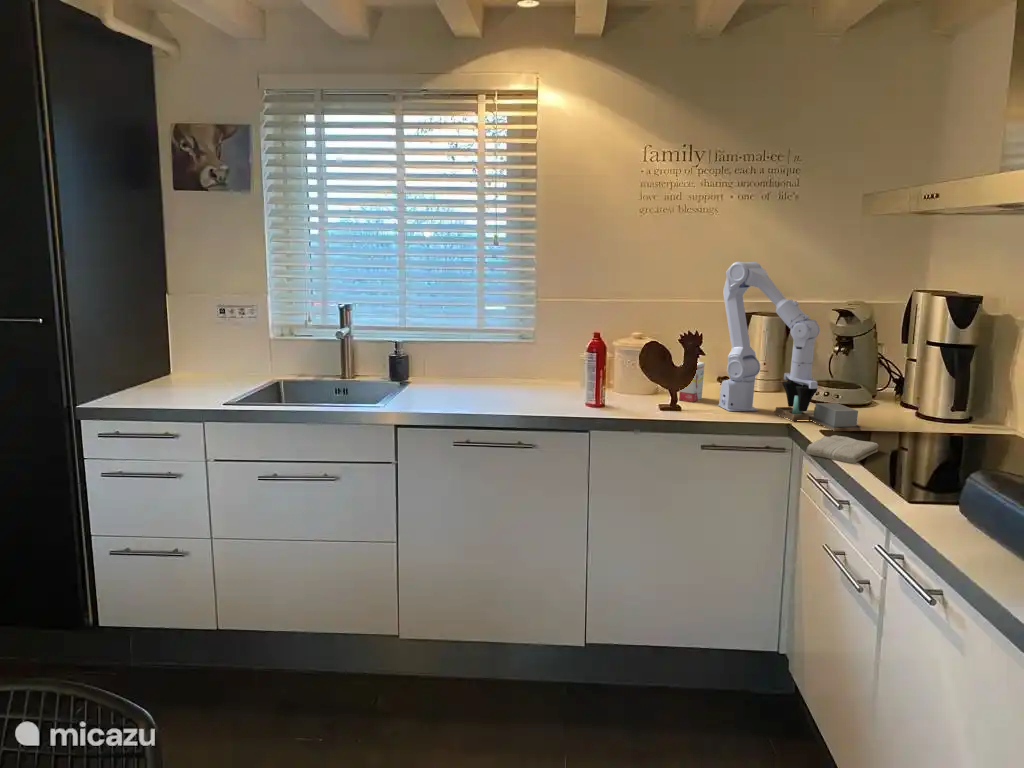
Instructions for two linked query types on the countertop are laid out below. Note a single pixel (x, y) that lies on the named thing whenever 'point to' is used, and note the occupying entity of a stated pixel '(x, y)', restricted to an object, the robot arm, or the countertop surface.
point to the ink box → (694, 386)
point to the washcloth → (842, 449)
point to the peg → (796, 406)
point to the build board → (788, 414)
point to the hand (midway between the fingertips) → (797, 408)
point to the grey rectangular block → (836, 414)
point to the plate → (811, 417)
